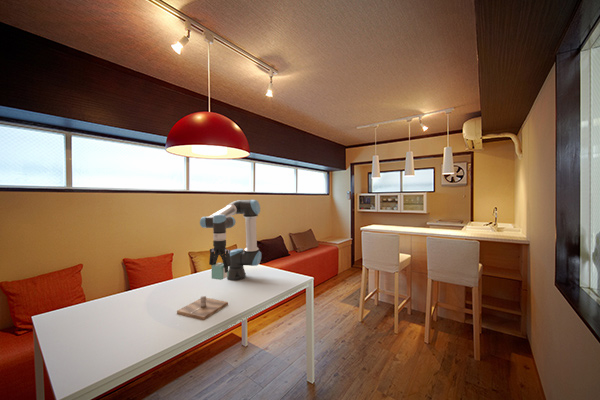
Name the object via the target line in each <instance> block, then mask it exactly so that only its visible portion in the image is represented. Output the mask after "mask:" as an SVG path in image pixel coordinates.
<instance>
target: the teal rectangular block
mask: <svg viewBox="0 0 600 400" xmlns="http://www.w3.org/2000/svg"><path fill="white" fill-rule="evenodd" d="M223 267H224V264H223V262H216V264H214V265H211V279H212V280H219V281H222V280H224V279H225V278H223ZM227 277H228V272H227ZM227 277H226V278H227Z"/></svg>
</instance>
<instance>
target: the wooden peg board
mask: <svg viewBox="0 0 600 400" xmlns="http://www.w3.org/2000/svg"><path fill="white" fill-rule="evenodd" d="M228 305H229V302H228V301H224V300H219V299H215V298H210V297H207V295H202V296H201V297H200V298H199V299H197V300H195V301H193V302H191V303H189V304H187V305H185V306H183V307H182V308H179V309H178V310H176V314H179V315H182V316H186V317H191V318H195V319H199V320H206V319H207V318H209V317H211V316H212V315H214V314H216V313H218V312H219V311H221V310H222V309H223V308H225V307H226V306H228Z"/></svg>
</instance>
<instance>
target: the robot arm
mask: <svg viewBox="0 0 600 400" xmlns="http://www.w3.org/2000/svg"><path fill="white" fill-rule="evenodd" d="M260 213H261V205H260V202H259V201H258V200H257V199H237V200H234V201H232V202H230V203H228V204H227V205H226V206H225V207H223V208H221V209H219V210H217V211H216V212H214V213H212V214H211V215H209V216H202V217H201V218H200V220H199V225H200V227H201V228H203V229H212V230H213V231H212V233H213V234H212V236H213V238H212V239H213V241H212V243H213V244H212V245H213V247H212V248H210V249H209V261H208V263H209V264H208V265H209V266H212V265H214V264H217V263H218V258H219V256H220V257H221V260H222V261H221V262H222V263H223V264H224V267H223V278H224V279H227V280H230V281H239V280H244V279H245V278H246V276H247V275H246V272H245V268H244V266H251V267H257V266H259V264H260V263H261V260H262V252H261V251H260V248H259V247H258V242H257V217H259V214H260ZM235 215H243V219H245V221H244V222H245V248H244V249H243V248H234V249H231V250H230V249H227V248H226V247H227V240H226V239H227V229H230V228H234V227H235V225H236V219H235V218H234V216H235ZM227 272H228V277H227Z"/></svg>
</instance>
